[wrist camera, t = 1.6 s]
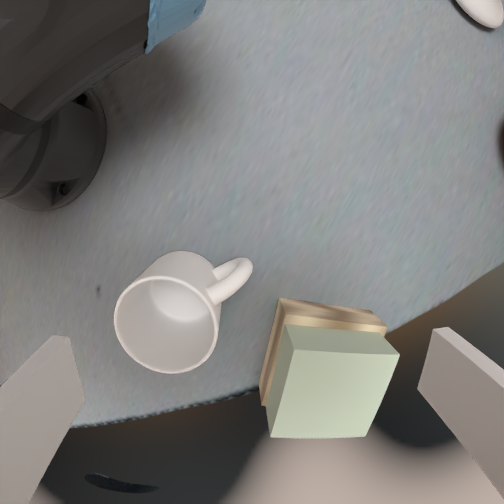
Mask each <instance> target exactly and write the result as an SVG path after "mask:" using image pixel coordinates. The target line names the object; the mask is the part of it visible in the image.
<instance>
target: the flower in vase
mask: <svg viewBox="0 0 504 504" xmlns="http://www.w3.org/2000/svg"><path fill="white" fill-rule="evenodd" d="M456 1H457V3H458V4H459V5H460V6H461V7H462V9H463V10H464V11H465V12H466V13H467V14H468V15H469V16H470V17H472V18H473V19H474V20H475V21H477V22H478V23H480V24H482V25H484V26H486V27H490V28H498V27H499V26H500V25H501V24H502V22H503V17H504V15H503V7H502V2H501V0H456Z"/></svg>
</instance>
